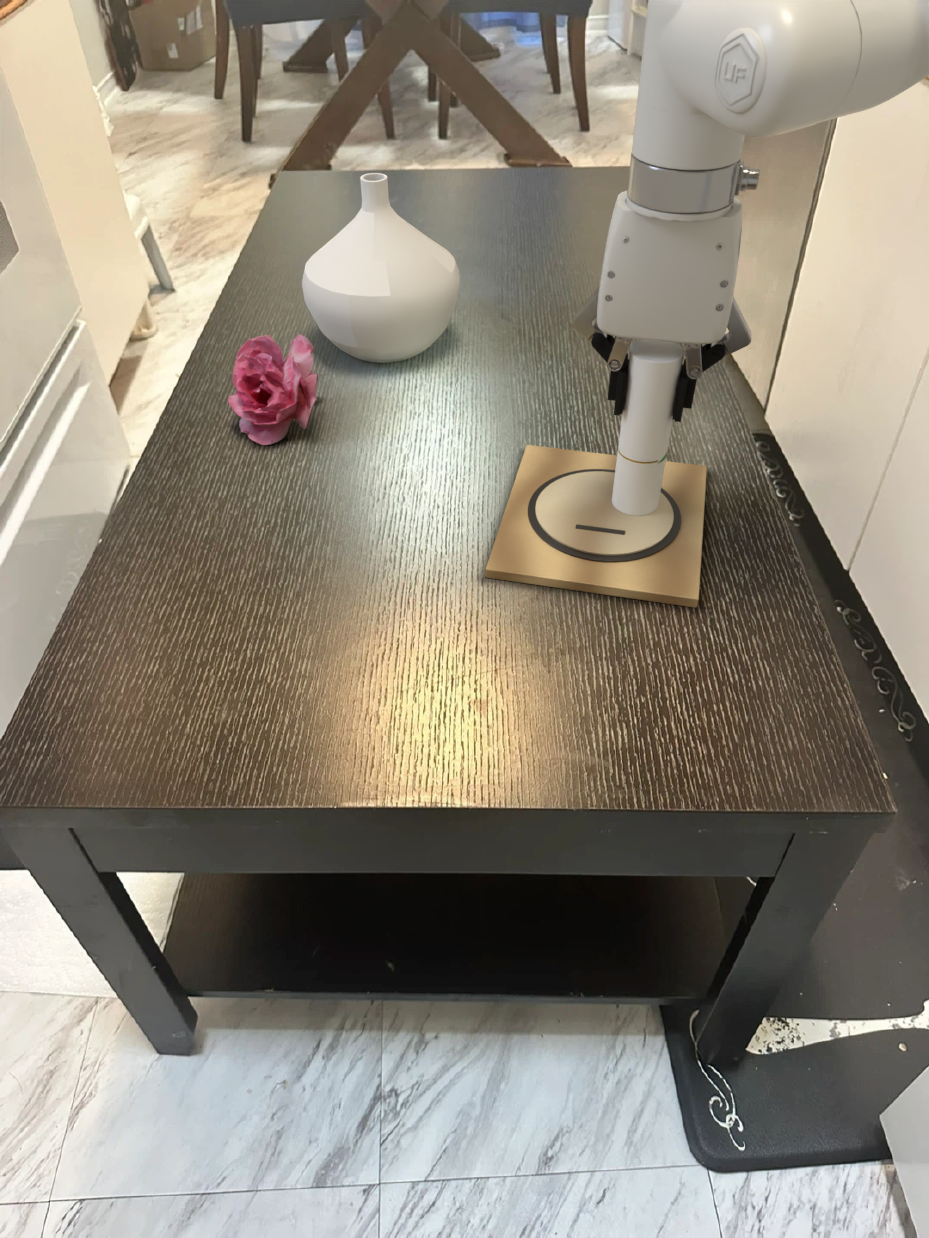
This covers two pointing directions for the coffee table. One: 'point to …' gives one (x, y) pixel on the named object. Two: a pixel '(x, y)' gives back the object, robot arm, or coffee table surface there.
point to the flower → (273, 387)
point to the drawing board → (600, 530)
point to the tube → (646, 425)
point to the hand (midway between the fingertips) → (648, 408)
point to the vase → (381, 283)
